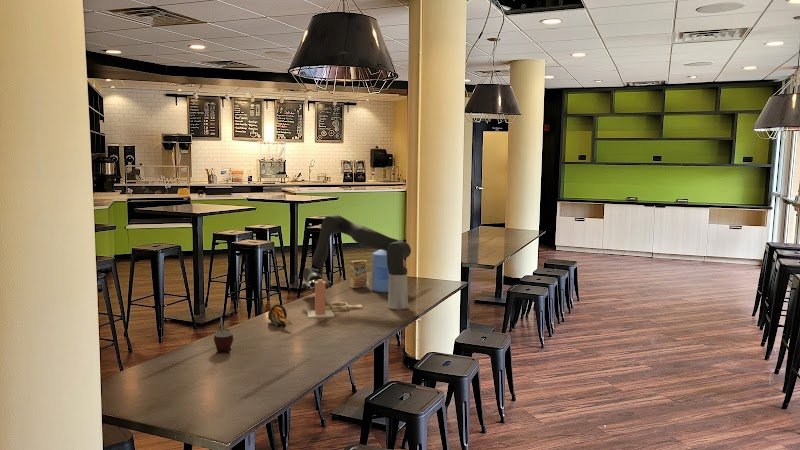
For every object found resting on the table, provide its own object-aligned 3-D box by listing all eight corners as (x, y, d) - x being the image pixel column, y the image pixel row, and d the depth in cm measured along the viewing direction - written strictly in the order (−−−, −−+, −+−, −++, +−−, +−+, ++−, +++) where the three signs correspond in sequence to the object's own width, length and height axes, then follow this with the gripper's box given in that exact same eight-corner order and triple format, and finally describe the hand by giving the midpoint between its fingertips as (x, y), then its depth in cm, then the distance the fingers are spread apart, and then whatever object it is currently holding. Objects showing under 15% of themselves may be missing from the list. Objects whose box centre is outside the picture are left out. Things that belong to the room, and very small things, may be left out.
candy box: (353, 288, 357) (353, 261, 356) (350, 286, 361) (350, 260, 359) (367, 287, 362) (367, 260, 360) (364, 285, 365) (364, 259, 364)
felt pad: (331, 310, 305) (331, 309, 305) (334, 316, 294) (334, 315, 294) (306, 311, 303) (306, 310, 303) (308, 318, 291) (308, 316, 291)
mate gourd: (226, 347, 246) (225, 309, 244) (238, 351, 241) (237, 313, 239) (209, 351, 240) (208, 313, 238) (221, 356, 235) (221, 317, 233)
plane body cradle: (360, 305, 317) (360, 301, 317) (363, 309, 308) (363, 305, 308) (314, 307, 312) (314, 303, 312) (316, 311, 303) (316, 307, 303)
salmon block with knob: (324, 311, 301) (324, 278, 299) (325, 313, 297) (325, 280, 295) (315, 312, 300) (315, 279, 298) (315, 314, 296) (315, 280, 294)
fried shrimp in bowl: (280, 308, 289) (304, 302, 277) (277, 332, 285) (301, 327, 273) (263, 304, 283) (287, 297, 271) (260, 328, 279) (283, 322, 267)
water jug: (367, 288, 358) (368, 239, 355) (392, 286, 365) (393, 238, 362) (378, 293, 344) (378, 243, 341) (404, 291, 351) (404, 241, 348)
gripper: (301, 274, 322) (303, 280, 306) (329, 273, 325) (332, 279, 309) (301, 288, 323) (303, 295, 307) (329, 287, 326) (332, 294, 310)
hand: (318, 287), depth 308 cm, fingers open, 8 cm apart
